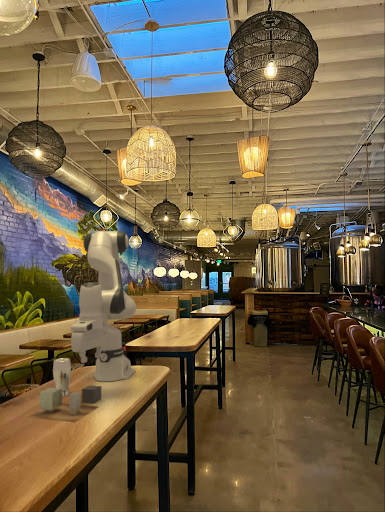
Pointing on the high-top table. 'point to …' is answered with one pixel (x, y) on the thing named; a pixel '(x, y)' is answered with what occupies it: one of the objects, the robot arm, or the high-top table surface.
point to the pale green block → (51, 399)
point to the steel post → (74, 403)
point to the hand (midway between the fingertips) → (91, 359)
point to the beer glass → (62, 374)
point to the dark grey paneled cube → (91, 394)
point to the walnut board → (64, 413)
